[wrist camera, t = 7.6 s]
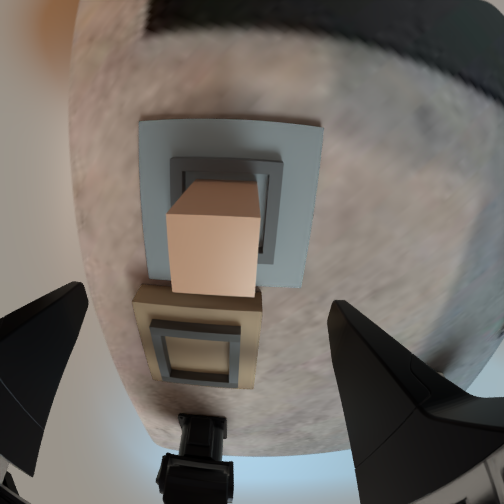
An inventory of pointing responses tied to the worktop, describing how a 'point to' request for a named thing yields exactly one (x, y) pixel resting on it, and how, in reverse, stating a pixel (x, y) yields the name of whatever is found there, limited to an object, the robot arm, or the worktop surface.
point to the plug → (215, 238)
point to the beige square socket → (199, 336)
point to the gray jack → (234, 168)
